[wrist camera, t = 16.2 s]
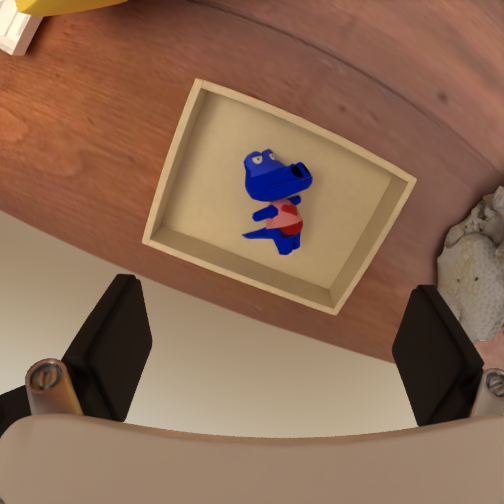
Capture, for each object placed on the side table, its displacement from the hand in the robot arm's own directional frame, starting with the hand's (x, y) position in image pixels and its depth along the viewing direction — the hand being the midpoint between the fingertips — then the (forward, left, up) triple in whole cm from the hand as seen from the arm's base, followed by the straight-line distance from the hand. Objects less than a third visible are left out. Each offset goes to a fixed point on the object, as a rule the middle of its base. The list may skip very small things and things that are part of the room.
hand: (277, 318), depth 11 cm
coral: (+20, +10, -17) cm, 28 cm away
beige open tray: (+1, -1, -17) cm, 17 cm away
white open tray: (-31, -1, -14) cm, 34 cm away
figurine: (+4, -3, -14) cm, 14 cm away
